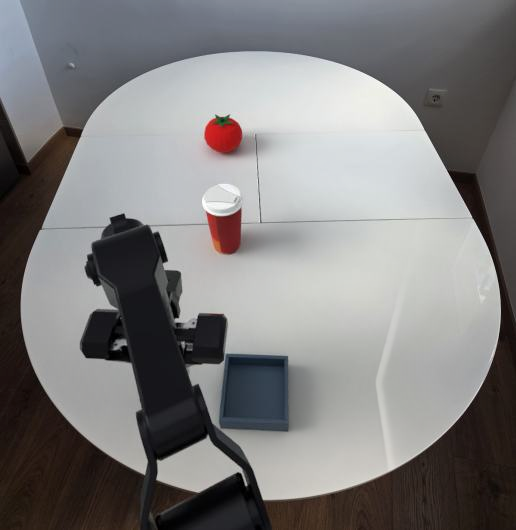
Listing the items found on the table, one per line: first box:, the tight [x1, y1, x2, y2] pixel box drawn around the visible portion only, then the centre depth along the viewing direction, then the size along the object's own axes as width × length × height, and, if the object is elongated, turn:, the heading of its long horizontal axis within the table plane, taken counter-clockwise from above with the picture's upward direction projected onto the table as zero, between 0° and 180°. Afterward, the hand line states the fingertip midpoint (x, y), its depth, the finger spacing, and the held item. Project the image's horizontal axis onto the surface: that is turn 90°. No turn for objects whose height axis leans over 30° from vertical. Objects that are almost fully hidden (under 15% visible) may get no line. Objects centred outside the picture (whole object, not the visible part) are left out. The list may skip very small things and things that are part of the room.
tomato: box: [203, 114, 243, 154], centre depth 117 cm, size 10×10×10 cm
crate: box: [218, 352, 289, 432], centre depth 71 cm, size 11×11×4 cm
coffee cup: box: [201, 183, 244, 255], centre depth 90 cm, size 8×8×15 cm
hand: (165, 362), depth 63 cm, fingers closed on can, 6 cm apart
